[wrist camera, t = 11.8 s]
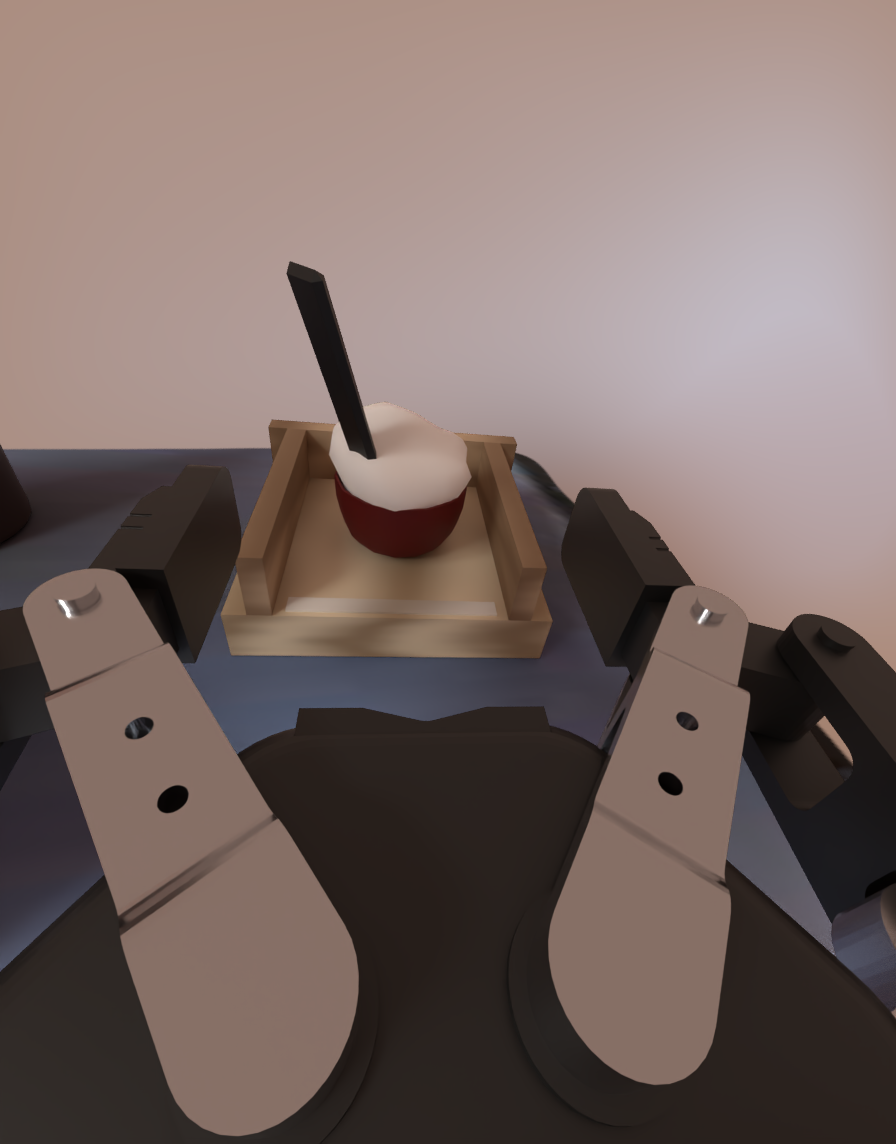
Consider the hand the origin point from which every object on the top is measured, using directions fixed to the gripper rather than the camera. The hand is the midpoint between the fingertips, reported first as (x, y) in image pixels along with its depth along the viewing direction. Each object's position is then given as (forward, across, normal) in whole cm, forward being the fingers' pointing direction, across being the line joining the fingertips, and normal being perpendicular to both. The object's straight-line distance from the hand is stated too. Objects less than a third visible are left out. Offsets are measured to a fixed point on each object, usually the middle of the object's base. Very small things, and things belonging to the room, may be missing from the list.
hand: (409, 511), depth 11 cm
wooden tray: (+11, 0, +11) cm, 16 cm away
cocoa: (+11, 0, +9) cm, 14 cm away
